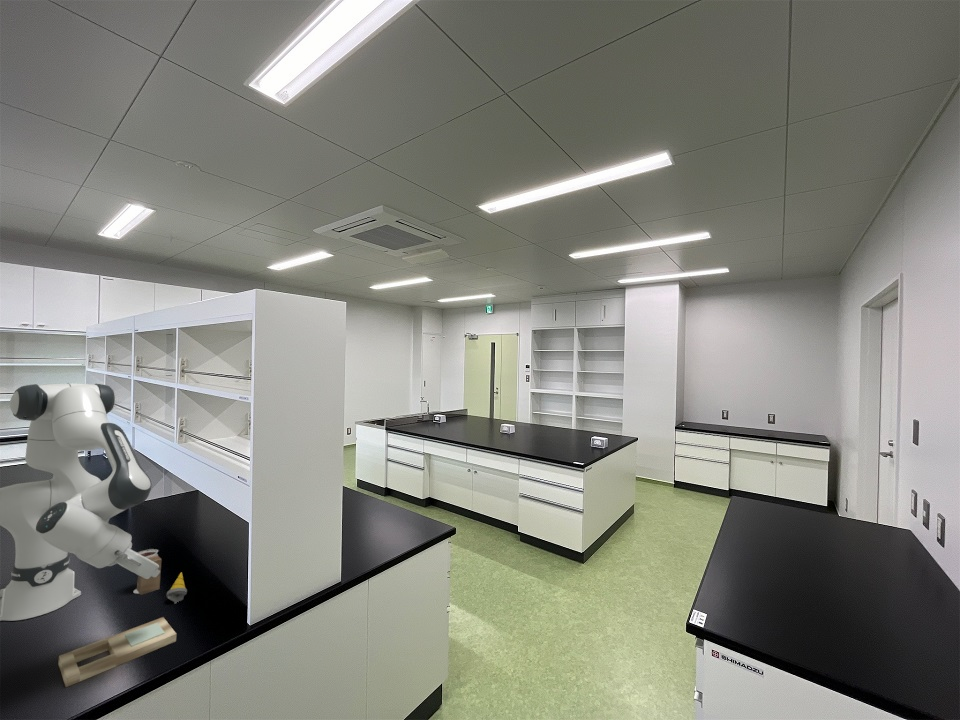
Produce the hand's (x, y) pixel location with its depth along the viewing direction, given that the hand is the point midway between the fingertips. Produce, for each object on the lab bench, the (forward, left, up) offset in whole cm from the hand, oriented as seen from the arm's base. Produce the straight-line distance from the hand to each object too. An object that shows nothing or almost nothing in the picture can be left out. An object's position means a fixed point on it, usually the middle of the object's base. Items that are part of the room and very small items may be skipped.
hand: (152, 571), depth 108 cm
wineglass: (-34, +6, -19) cm, 39 cm away
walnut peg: (0, -1, -5) cm, 5 cm away
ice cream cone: (-19, +11, -19) cm, 29 cm away
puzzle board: (0, -6, -19) cm, 19 cm away
